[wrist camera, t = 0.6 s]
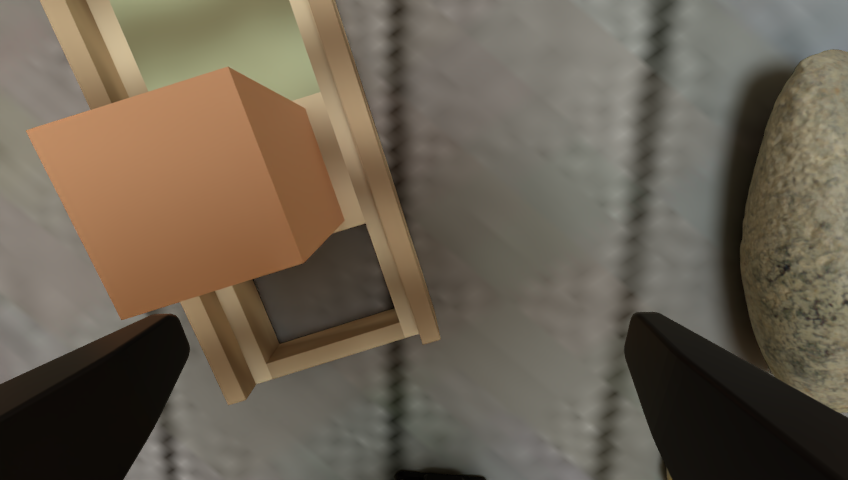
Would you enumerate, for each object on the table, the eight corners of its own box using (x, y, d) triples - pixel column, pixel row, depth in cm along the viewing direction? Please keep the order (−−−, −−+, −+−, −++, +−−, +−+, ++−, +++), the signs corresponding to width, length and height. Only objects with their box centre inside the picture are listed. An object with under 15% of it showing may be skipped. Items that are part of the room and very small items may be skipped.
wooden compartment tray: (434, 311, 25) (440, 339, 21) (255, 367, 25) (228, 405, 21) (255, -248, 19) (216, -355, 15) (18, -172, 19) (-81, -259, 15)
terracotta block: (344, 220, 21) (303, 263, 12) (238, 253, 21) (121, 320, 12) (305, 108, 20) (228, 66, 11) (192, 143, 20) (26, 130, 11)
